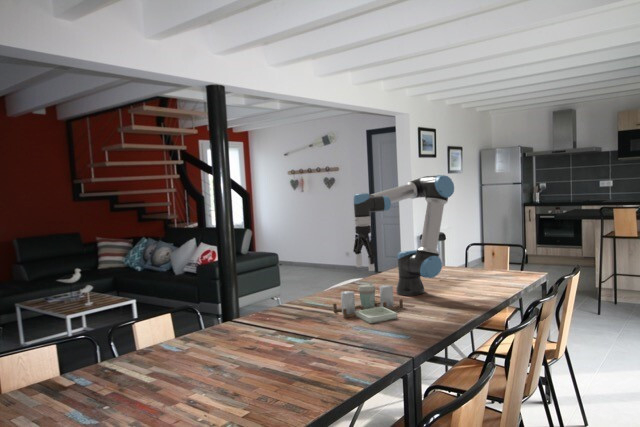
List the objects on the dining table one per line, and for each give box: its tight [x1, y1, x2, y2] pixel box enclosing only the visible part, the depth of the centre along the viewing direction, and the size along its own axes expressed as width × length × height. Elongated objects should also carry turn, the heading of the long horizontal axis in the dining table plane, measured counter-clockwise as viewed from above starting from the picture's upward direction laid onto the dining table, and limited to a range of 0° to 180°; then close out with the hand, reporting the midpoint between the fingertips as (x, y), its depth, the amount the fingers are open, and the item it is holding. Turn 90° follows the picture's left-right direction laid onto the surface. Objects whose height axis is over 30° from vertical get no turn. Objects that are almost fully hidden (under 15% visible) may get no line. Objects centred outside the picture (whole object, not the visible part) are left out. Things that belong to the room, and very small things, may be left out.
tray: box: [355, 305, 398, 324], centre depth 220 cm, size 14×14×2 cm
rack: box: [332, 298, 404, 319], centre depth 234 cm, size 32×14×4 cm, turn 111°
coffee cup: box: [357, 283, 377, 309], centre depth 233 cm, size 8×8×12 cm
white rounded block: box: [379, 284, 395, 308], centre depth 237 cm, size 6×6×10 cm
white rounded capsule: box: [340, 290, 356, 315], centre depth 230 cm, size 6×6×10 cm
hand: (365, 268), depth 232 cm, fingers open, 13 cm apart
